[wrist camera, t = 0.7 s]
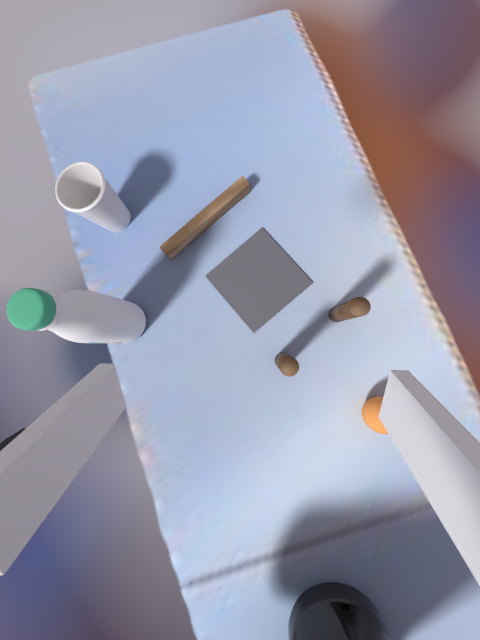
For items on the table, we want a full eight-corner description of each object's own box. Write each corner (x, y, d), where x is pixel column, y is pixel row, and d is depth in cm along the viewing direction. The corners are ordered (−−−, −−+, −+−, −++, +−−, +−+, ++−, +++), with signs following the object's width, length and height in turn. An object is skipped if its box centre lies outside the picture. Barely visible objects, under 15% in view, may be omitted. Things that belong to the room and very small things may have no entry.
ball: (397, 412, 40) (419, 423, 34) (372, 433, 40) (390, 448, 34) (374, 386, 40) (392, 393, 35) (349, 407, 40) (363, 417, 35)
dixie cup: (144, 207, 47) (113, 171, 37) (125, 244, 46) (89, 218, 36) (108, 192, 48) (69, 153, 38) (90, 229, 47) (45, 199, 37)
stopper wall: (250, 191, 45) (249, 183, 43) (171, 259, 45) (165, 254, 43) (243, 184, 45) (242, 175, 43) (164, 252, 46) (159, 246, 43)
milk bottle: (136, 295, 45) (39, 259, 25) (154, 329, 44) (69, 320, 25) (102, 315, 46) (-20, 296, 26) (120, 350, 45) (7, 358, 25)
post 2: (347, 315, 42) (374, 307, 32) (335, 324, 42) (359, 320, 32) (337, 304, 42) (360, 293, 32) (325, 313, 42) (346, 305, 32)
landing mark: (312, 282, 43) (313, 282, 42) (253, 332, 43) (253, 332, 43) (262, 227, 44) (262, 227, 44) (205, 276, 44) (205, 275, 44)
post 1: (292, 361, 42) (303, 367, 32) (281, 370, 42) (288, 380, 32) (283, 350, 42) (290, 352, 32) (271, 359, 42) (275, 365, 32)
